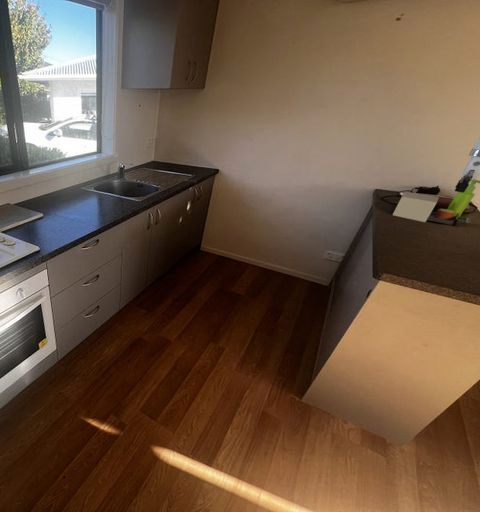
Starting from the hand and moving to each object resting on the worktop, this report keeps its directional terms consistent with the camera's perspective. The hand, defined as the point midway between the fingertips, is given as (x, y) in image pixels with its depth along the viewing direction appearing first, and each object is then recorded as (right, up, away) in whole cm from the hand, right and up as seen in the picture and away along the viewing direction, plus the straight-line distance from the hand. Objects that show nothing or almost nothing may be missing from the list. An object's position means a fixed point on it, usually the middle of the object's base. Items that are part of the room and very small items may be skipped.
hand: (459, 189), depth 143 cm
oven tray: (+1, -14, +7) cm, 16 cm away
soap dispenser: (+15, -11, +15) cm, 24 cm away
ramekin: (0, -14, +7) cm, 15 cm away
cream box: (-7, -11, +16) cm, 21 cm away
